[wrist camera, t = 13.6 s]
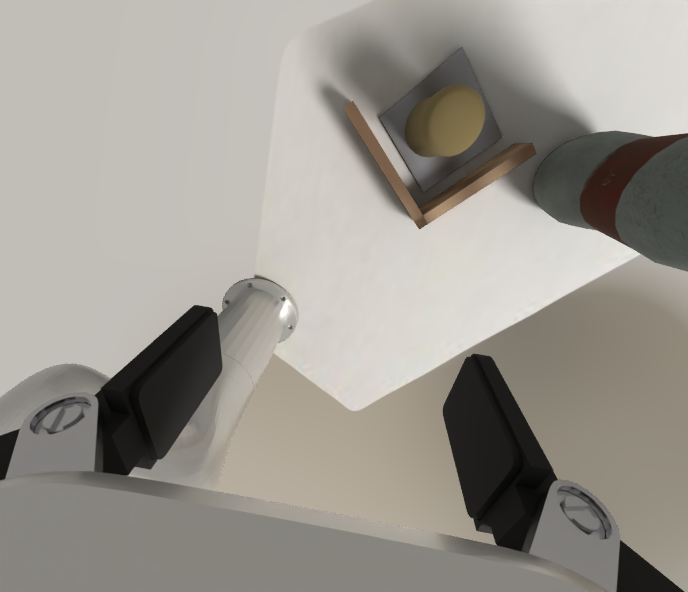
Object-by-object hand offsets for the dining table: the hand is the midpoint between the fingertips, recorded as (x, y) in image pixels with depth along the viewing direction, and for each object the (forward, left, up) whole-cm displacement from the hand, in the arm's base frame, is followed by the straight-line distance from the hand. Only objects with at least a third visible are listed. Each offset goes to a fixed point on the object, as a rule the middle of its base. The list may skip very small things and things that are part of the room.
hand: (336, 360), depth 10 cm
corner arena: (+12, +2, -30) cm, 33 cm away
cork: (+11, +3, -30) cm, 32 cm away
